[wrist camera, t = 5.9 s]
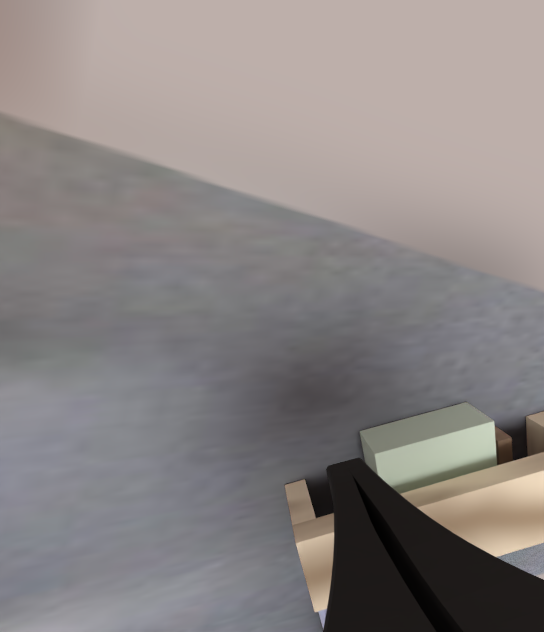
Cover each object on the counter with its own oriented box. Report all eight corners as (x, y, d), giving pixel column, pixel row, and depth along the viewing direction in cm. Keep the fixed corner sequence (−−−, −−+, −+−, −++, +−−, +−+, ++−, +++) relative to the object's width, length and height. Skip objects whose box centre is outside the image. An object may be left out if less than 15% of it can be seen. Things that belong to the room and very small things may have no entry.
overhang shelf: (546, 472, 25) (612, 521, 20) (300, 544, 24) (314, 612, 19) (544, 411, 23) (615, 449, 19) (284, 484, 22) (295, 543, 18)
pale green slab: (473, 482, 24) (499, 509, 22) (374, 510, 24) (389, 541, 21) (466, 401, 22) (494, 421, 20) (359, 431, 22) (374, 454, 20)
